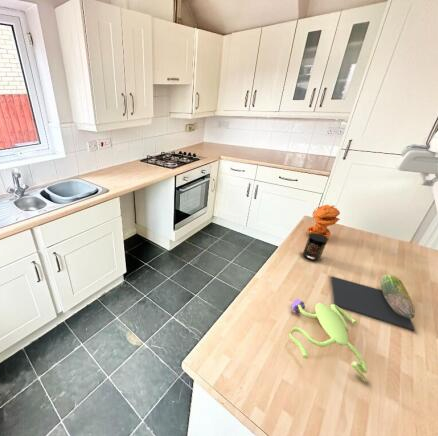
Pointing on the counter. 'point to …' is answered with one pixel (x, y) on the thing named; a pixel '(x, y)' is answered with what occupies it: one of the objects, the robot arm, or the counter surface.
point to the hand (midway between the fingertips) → (426, 185)
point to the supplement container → (315, 247)
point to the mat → (366, 302)
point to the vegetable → (397, 296)
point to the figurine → (329, 330)
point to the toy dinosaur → (324, 220)
